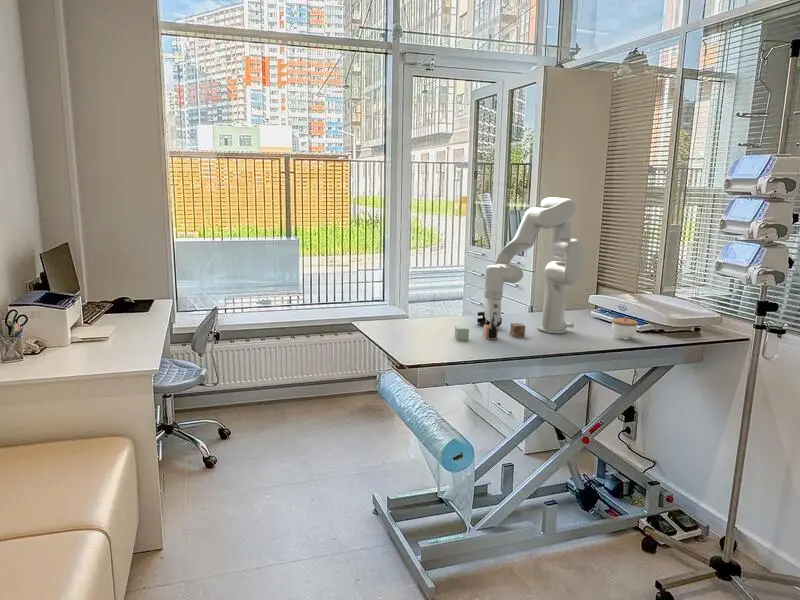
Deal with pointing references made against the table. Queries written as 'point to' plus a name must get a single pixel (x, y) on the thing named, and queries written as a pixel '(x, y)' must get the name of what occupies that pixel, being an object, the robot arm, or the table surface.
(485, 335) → the terracotta block
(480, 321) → the black claw piece
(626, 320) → the lidded jar
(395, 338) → the table surface
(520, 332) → the walnut block
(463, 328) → the sage block
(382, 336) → the table surface
